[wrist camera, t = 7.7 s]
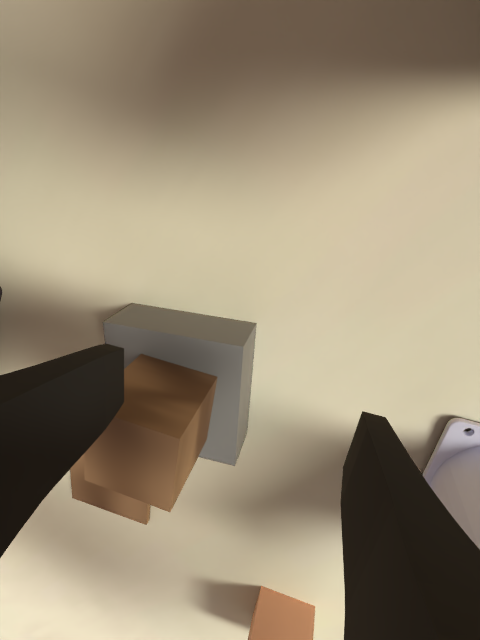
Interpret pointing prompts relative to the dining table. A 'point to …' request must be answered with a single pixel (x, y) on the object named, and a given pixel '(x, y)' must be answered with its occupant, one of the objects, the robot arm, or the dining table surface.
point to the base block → (196, 362)
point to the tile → (106, 496)
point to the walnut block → (153, 432)
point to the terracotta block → (281, 618)
